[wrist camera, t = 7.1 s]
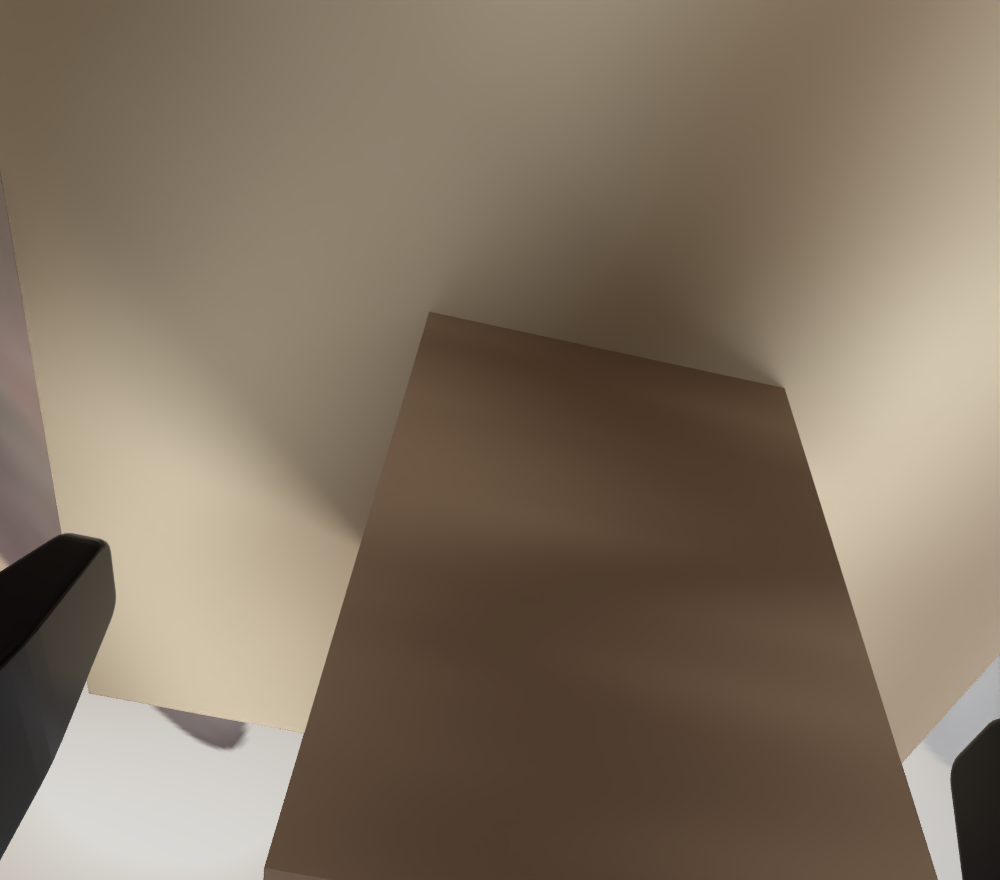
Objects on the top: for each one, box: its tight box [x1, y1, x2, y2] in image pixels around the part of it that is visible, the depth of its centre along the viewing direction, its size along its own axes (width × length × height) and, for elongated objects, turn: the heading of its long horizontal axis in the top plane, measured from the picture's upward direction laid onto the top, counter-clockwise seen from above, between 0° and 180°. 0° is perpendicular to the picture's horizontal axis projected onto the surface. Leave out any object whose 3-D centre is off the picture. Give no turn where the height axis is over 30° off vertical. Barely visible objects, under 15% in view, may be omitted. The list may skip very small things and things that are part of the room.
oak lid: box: [0, 0, 1000, 880], centre depth 9 cm, size 13×13×7 cm
